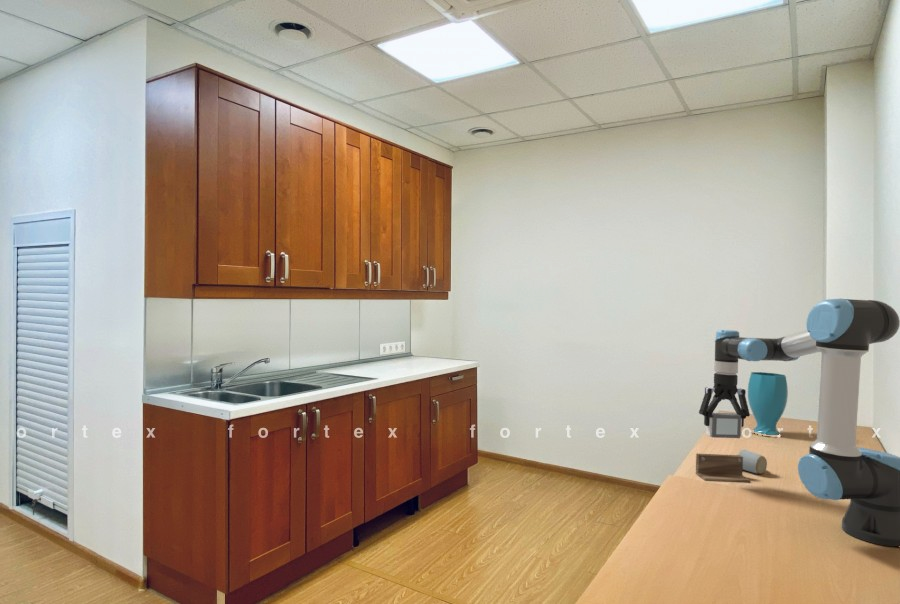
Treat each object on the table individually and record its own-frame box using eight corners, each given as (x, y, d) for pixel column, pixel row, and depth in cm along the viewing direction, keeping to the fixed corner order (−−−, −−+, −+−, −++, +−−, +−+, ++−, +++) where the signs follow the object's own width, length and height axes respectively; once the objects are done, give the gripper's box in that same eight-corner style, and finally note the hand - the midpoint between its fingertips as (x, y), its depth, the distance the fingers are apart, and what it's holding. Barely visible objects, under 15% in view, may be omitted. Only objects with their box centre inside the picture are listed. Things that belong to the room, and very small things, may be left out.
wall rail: (750, 482, 192) (750, 461, 192) (704, 480, 192) (705, 459, 192) (739, 475, 199) (740, 455, 199) (695, 473, 200) (696, 453, 200)
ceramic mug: (757, 476, 199) (758, 455, 199) (735, 470, 206) (736, 450, 206) (772, 472, 205) (773, 452, 205) (750, 466, 212) (751, 447, 212)
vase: (738, 430, 275) (740, 371, 275) (764, 429, 281) (766, 371, 281) (767, 439, 259) (769, 376, 259) (794, 437, 264) (796, 376, 264)
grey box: (740, 438, 191) (741, 415, 191) (712, 437, 190) (713, 414, 190) (733, 435, 195) (734, 413, 195) (706, 434, 195) (707, 412, 194)
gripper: (750, 372, 197) (747, 433, 197) (689, 370, 196) (687, 432, 196) (763, 375, 190) (760, 438, 190) (700, 373, 188) (698, 437, 188)
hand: (723, 435), depth 193 cm, fingers closed on grey box, 10 cm apart
